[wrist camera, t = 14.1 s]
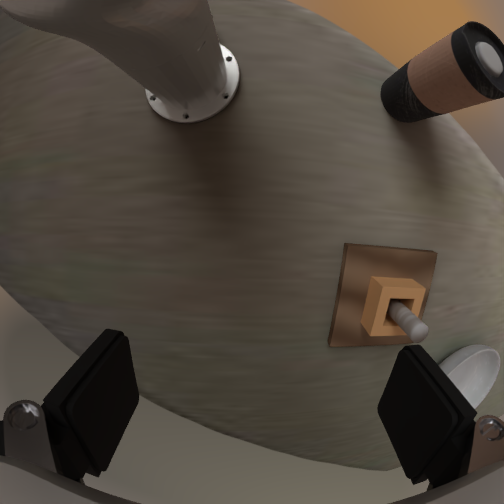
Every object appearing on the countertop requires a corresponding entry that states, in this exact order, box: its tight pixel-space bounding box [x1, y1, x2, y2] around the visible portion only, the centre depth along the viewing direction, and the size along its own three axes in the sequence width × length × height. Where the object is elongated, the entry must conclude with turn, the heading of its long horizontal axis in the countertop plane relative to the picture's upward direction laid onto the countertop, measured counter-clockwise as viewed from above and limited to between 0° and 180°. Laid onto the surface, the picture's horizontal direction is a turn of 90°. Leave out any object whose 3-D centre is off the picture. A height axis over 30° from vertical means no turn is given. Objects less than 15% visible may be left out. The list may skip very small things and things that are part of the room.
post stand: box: [328, 243, 437, 347], centre depth 32 cm, size 15×15×12 cm
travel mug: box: [381, 21, 504, 123], centre depth 21 cm, size 8×8×20 cm
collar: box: [361, 276, 426, 336], centre depth 34 cm, size 7×7×4 cm
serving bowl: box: [438, 344, 500, 409], centre depth 39 cm, size 21×21×7 cm
